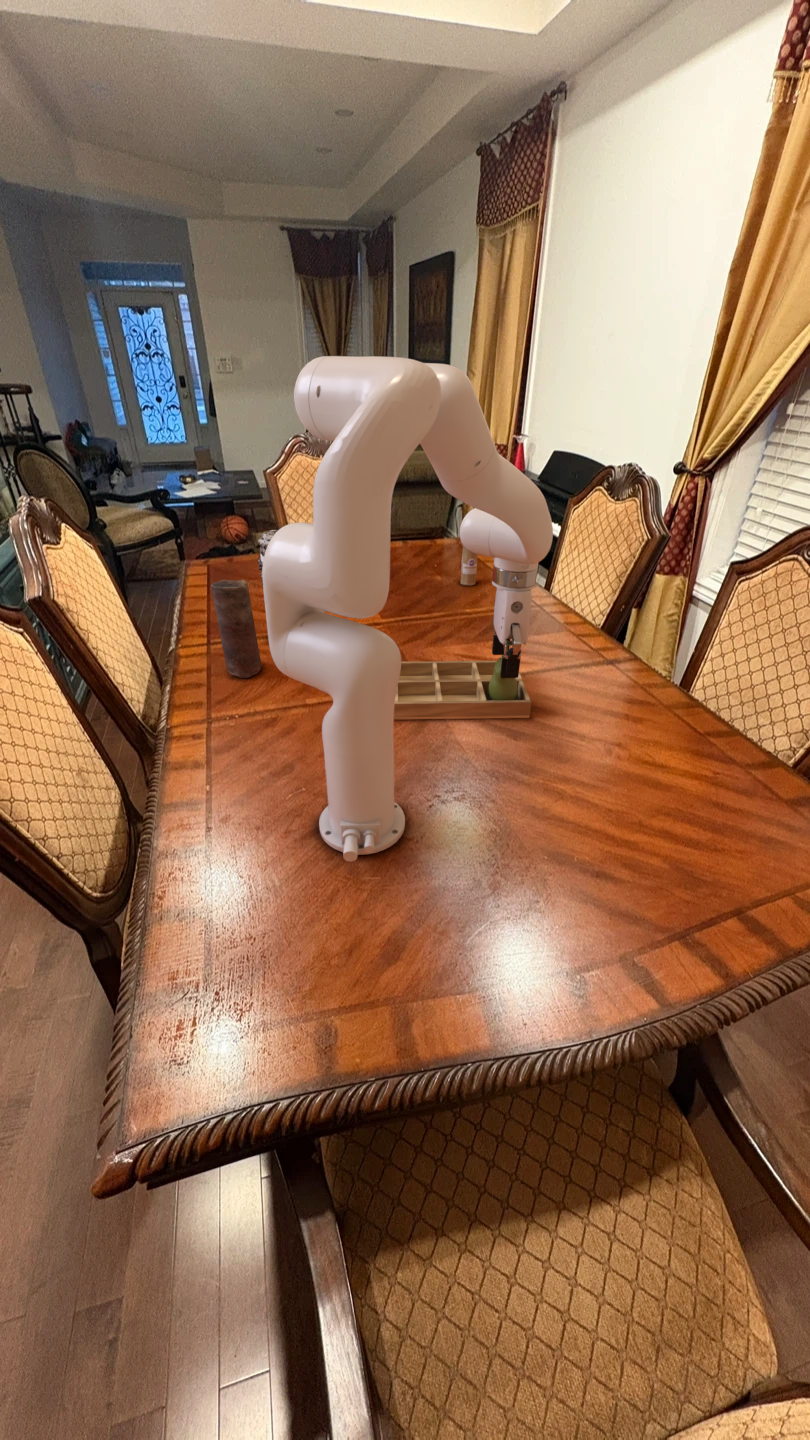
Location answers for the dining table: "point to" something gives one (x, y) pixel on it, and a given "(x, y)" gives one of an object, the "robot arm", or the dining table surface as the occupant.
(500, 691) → the pear
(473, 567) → the sprinkles bottle
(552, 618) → the dining table surface
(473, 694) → the wooden compartment tray
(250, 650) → the candle
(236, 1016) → the dining table surface
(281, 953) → the dining table surface
